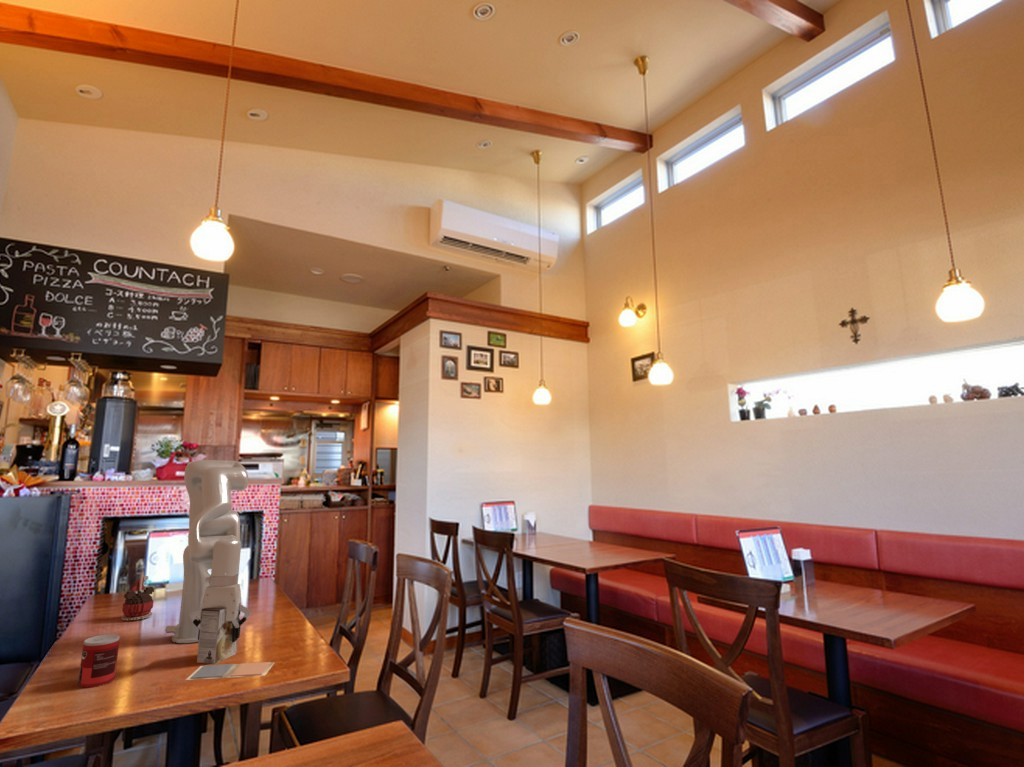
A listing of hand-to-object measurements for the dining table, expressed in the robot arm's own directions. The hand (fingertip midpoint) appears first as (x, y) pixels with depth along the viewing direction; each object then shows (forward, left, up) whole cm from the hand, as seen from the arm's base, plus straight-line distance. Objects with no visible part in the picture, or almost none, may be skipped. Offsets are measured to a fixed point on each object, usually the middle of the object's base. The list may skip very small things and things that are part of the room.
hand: (218, 641), depth 155 cm
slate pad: (+3, -11, -5) cm, 13 cm away
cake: (-47, +53, -6) cm, 71 cm away
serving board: (+8, -11, -6) cm, 15 cm away
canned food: (-26, -11, -6) cm, 29 cm away
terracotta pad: (+13, -11, -5) cm, 18 cm away
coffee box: (0, 0, -6) cm, 6 cm away
